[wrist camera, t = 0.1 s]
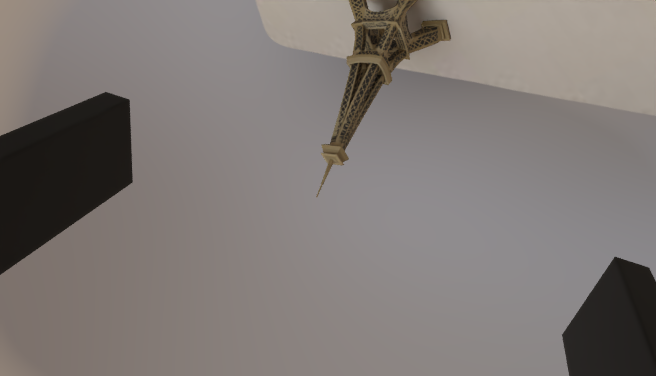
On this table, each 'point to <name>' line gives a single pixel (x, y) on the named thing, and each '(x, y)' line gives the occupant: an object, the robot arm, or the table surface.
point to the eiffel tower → (375, 65)
